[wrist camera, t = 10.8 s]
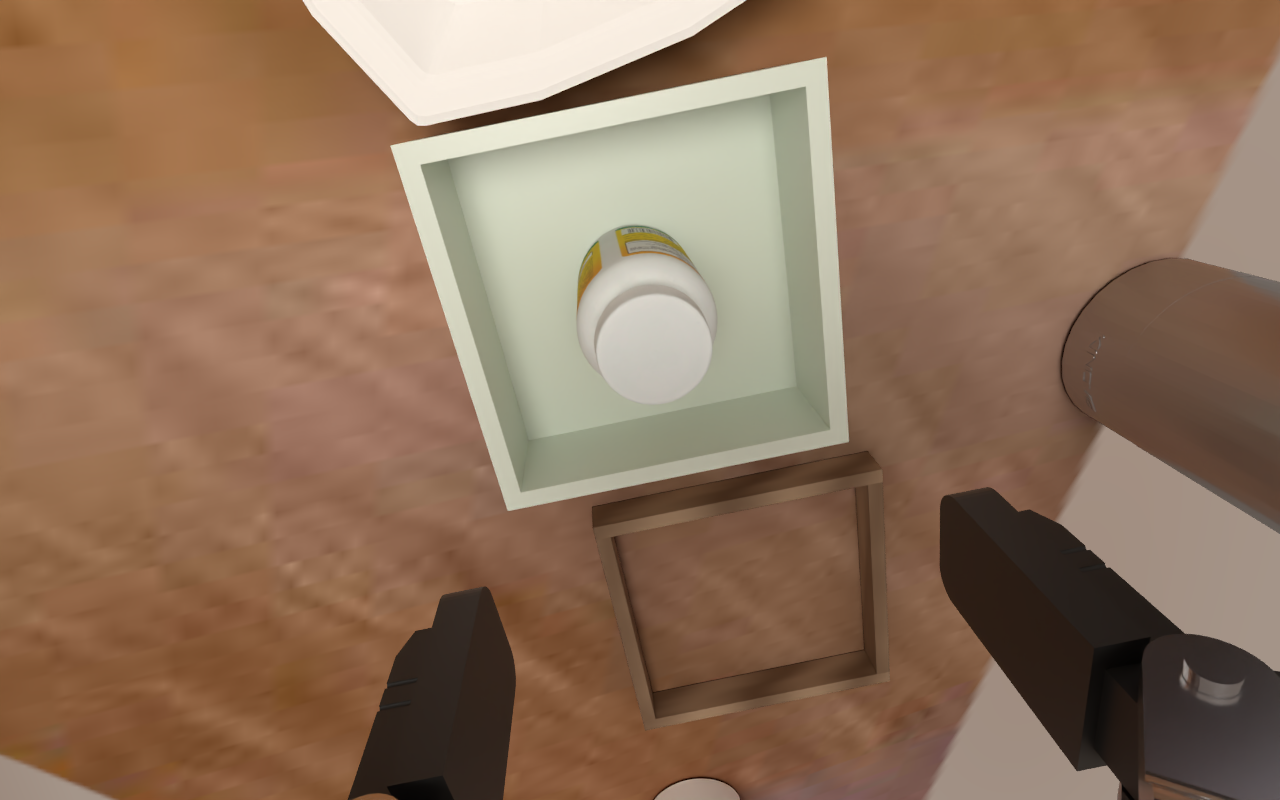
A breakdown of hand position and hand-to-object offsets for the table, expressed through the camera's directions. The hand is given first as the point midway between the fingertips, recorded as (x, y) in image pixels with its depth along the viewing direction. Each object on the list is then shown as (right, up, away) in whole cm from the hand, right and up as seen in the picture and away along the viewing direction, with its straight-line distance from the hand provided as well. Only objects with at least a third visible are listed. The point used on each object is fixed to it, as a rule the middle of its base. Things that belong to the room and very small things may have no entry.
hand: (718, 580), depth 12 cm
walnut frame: (+5, -8, +28) cm, 30 cm away
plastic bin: (-2, +9, +20) cm, 22 cm away
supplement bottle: (-2, +9, +20) cm, 22 cm away
